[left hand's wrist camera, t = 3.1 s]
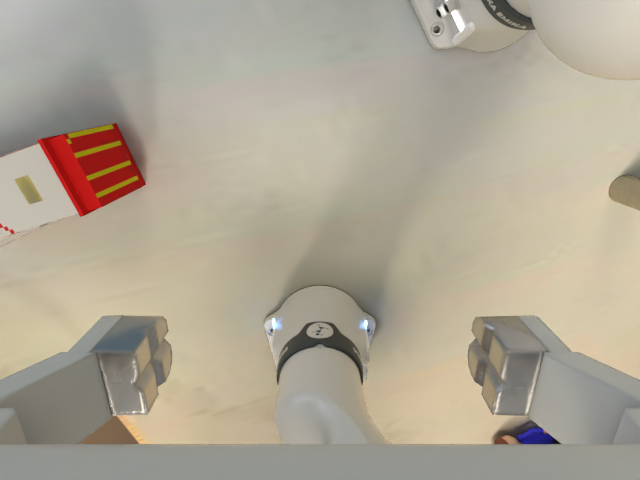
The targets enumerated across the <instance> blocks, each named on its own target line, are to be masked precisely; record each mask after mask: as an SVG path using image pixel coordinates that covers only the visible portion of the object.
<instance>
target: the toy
mask: <svg viewBox="0 0 640 480" xmlns="http://www.w3.org/2000/svg"><path fill="white" fill-rule="evenodd" d="M37 141H38V143H39V144H36V145H33V146H31V147H28V148H25V149H22V150H20V149H19V150H15V151H11V152H7V153H3V154H0V237H3V236H7V235H10V234H13V233H17V232H19V233H17V234H15V235H13V236H10V237H8V238H6V239H4V240H2V241H0V247H1V246H3V245H6V244H8V243H10V242H12V241H14V240H16V239H18V238H20V237H23V236H25V235H27V234H29V233H31V232H33V231H35V230H37V229H40V228H42V227H44V226H46V225H48V224H50V223H52V222H54V221H57V220H60V219H63V218H67V217H70V216H73V215H76V214H79V215H80V217H81V216H84V215H86V214H88V213H90V212H92V211H94V210H96V209H98V208H100V207H103V206H105V205H107V204H109V203H111V202H113V201H115V200H117V199H119V198H121V197H123V196H125V195H127V194H129V193H131V192H133V191H135V190H137V189H139V188H141V187H142V186H144V185H146V184H145V182H144V180H143V178H142V175H141V173H140V171H139V169H138V167H137V165H136V163H135V161H134V159H133V157H132V155H131V153H130V151H129V149H128V147H127V144H126V142H125V140H124V138H123V136H122V134H121V132H120V130H119V128H118V126H117V124H116V123H115V124H110V125H105V126H101V127H96V128H91V129H86V130H81V131H77V132H72V133H67V134H62V135H57V136H53V137H48V138H43V139H39V140H37ZM20 231H21V232H20Z"/></svg>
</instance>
